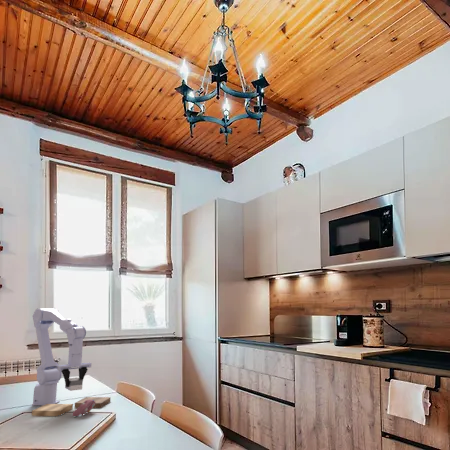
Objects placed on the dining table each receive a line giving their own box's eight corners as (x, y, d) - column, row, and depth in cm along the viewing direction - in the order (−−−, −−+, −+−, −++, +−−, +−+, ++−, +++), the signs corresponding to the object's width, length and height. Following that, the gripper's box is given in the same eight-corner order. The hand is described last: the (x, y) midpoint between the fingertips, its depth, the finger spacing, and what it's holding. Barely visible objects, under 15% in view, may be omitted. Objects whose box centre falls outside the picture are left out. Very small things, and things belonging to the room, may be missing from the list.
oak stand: (31, 415, 171) (32, 410, 171) (46, 408, 183) (46, 403, 183) (59, 416, 170) (60, 410, 171) (72, 408, 182) (72, 404, 182)
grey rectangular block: (70, 390, 179) (71, 381, 180) (65, 387, 186) (65, 378, 186) (82, 389, 182) (82, 379, 183) (76, 386, 189) (77, 377, 189)
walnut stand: (74, 407, 184) (74, 402, 184) (85, 401, 196) (85, 397, 196) (100, 407, 183) (101, 403, 183) (110, 401, 195) (110, 397, 195)
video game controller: (79, 421, 167) (87, 405, 168) (70, 415, 168) (78, 399, 169) (91, 415, 177) (99, 400, 177) (83, 410, 178) (90, 394, 179)
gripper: (61, 356, 179) (59, 389, 177) (94, 353, 188) (93, 385, 186) (56, 354, 185) (54, 387, 182) (88, 352, 194) (87, 383, 191)
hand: (73, 385), depth 184 cm, fingers closed on grey rectangular block, 5 cm apart
